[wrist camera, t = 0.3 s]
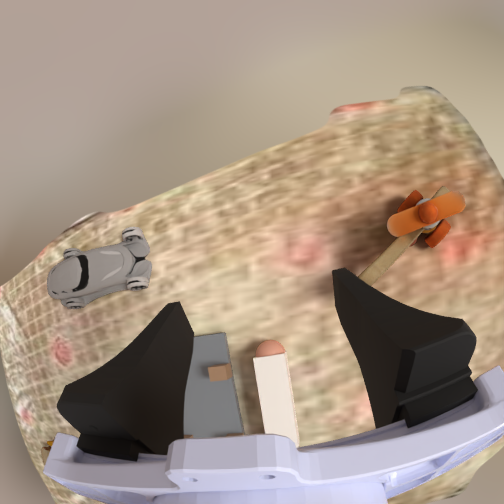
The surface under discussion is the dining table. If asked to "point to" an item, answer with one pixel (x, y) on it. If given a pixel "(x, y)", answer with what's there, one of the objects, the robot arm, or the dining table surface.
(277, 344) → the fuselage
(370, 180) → the dining table surface
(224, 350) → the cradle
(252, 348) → the dining table surface
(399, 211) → the toy helicopter
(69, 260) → the car model
